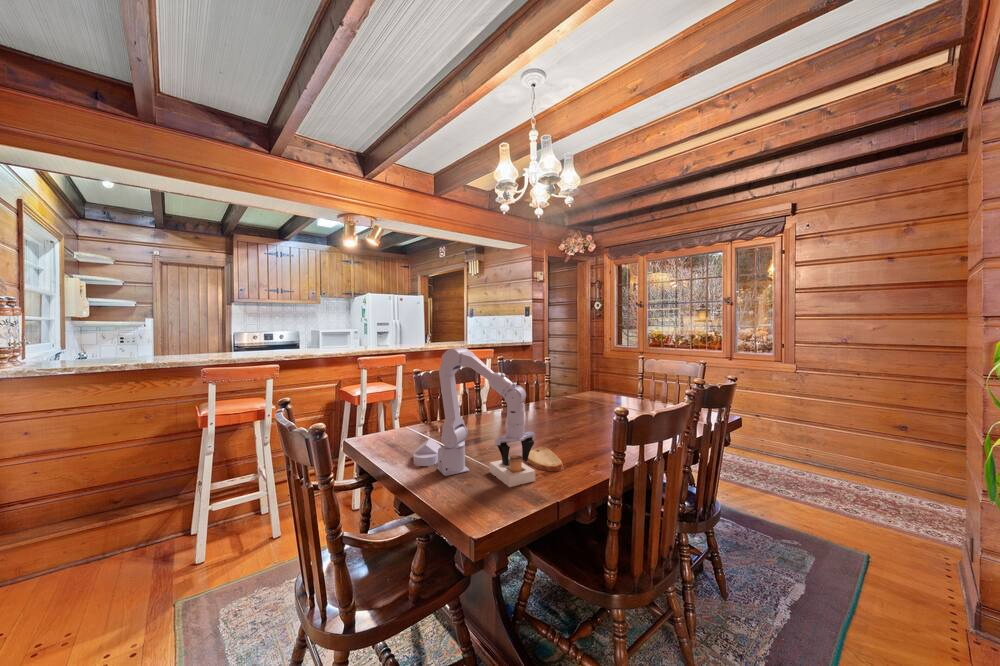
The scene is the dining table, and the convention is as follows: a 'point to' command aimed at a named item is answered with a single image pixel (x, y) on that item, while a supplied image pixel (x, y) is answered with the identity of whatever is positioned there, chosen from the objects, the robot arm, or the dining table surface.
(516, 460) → the orange tapered cylinder
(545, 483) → the dining table surface
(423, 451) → the wedge on round base
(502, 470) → the cream block with recess
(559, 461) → the bread slice
